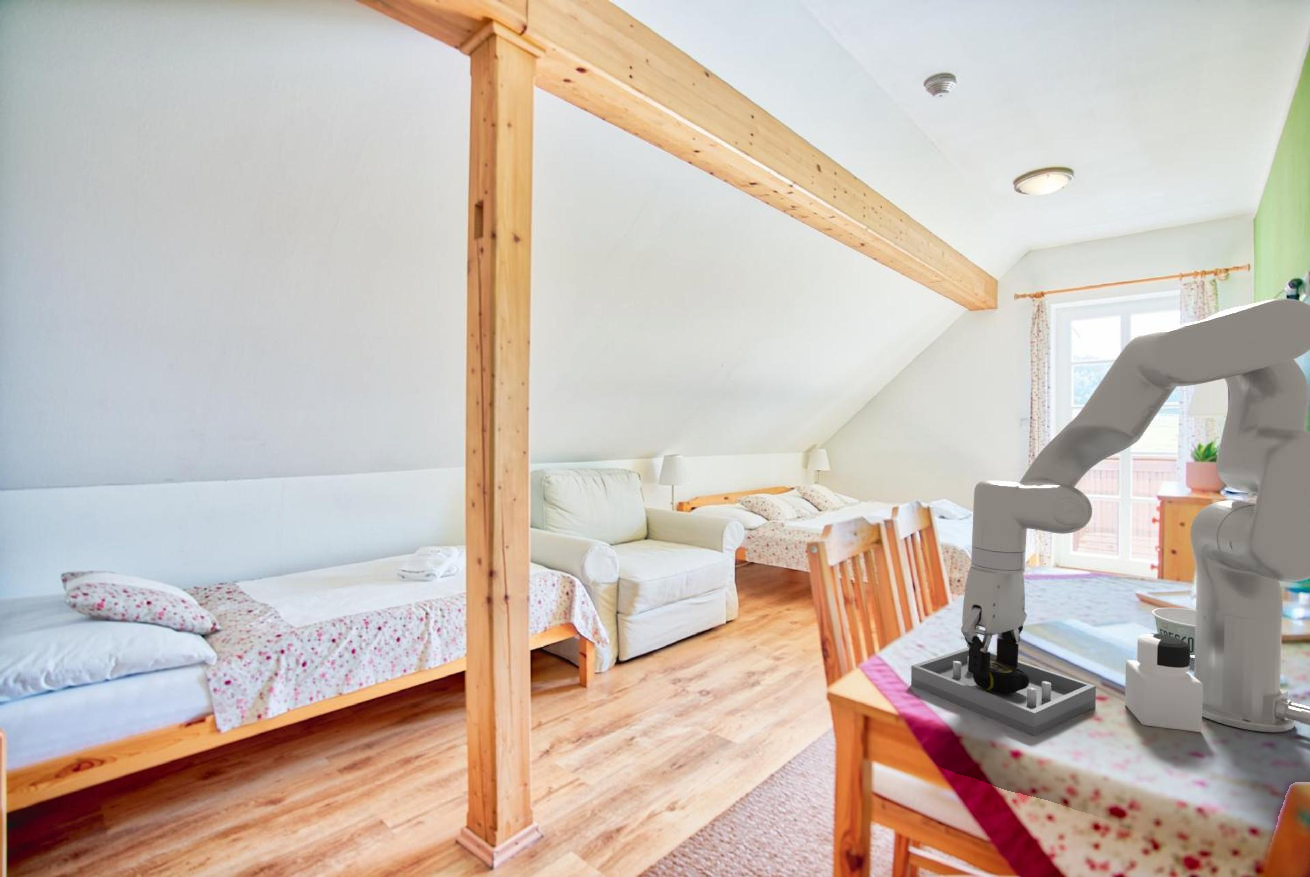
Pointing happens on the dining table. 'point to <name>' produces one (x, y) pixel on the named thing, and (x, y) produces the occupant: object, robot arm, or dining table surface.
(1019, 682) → the tape measure
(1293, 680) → the dining table surface
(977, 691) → the pin tray
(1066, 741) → the dining table surface
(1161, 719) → the medicine bottle
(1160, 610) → the food container
